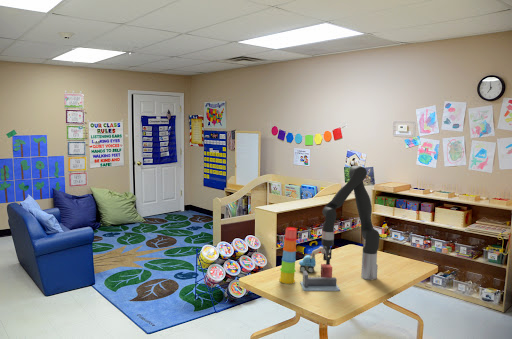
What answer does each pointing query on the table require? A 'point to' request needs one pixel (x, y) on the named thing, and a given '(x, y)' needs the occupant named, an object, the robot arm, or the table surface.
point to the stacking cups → (289, 256)
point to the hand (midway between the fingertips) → (326, 262)
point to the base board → (320, 288)
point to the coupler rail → (318, 280)
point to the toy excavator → (309, 261)
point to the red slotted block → (326, 270)
